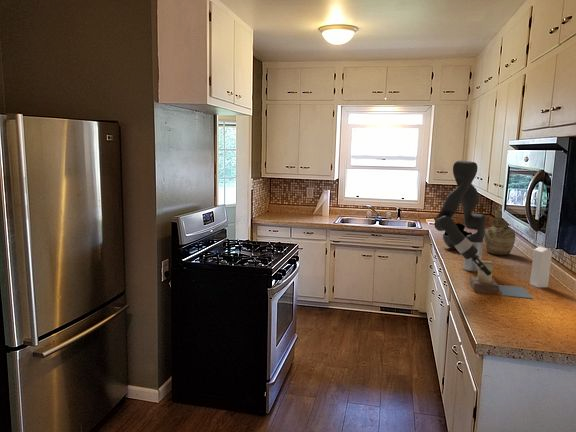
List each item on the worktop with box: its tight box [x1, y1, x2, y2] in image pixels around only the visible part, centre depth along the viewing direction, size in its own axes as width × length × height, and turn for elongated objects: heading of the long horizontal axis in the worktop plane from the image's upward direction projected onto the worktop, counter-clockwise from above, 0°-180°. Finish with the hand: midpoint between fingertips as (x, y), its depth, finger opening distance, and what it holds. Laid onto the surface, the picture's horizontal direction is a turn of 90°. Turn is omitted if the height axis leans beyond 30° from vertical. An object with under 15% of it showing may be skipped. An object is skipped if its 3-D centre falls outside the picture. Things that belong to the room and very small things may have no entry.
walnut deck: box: [469, 275, 500, 295], centre depth 222 cm, size 15×11×4 cm
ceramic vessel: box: [483, 210, 516, 257], centre depth 305 cm, size 19×21×30 cm
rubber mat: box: [498, 284, 534, 300], centre depth 219 cm, size 18×13×1 cm
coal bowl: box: [442, 222, 473, 251], centre depth 314 cm, size 20×20×19 cm
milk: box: [529, 245, 553, 288], centre depth 230 cm, size 6×6×22 cm
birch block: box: [476, 260, 494, 283], centre depth 221 cm, size 4×6×10 cm, turn 76°
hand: (488, 272), depth 221 cm, fingers open, 7 cm apart
